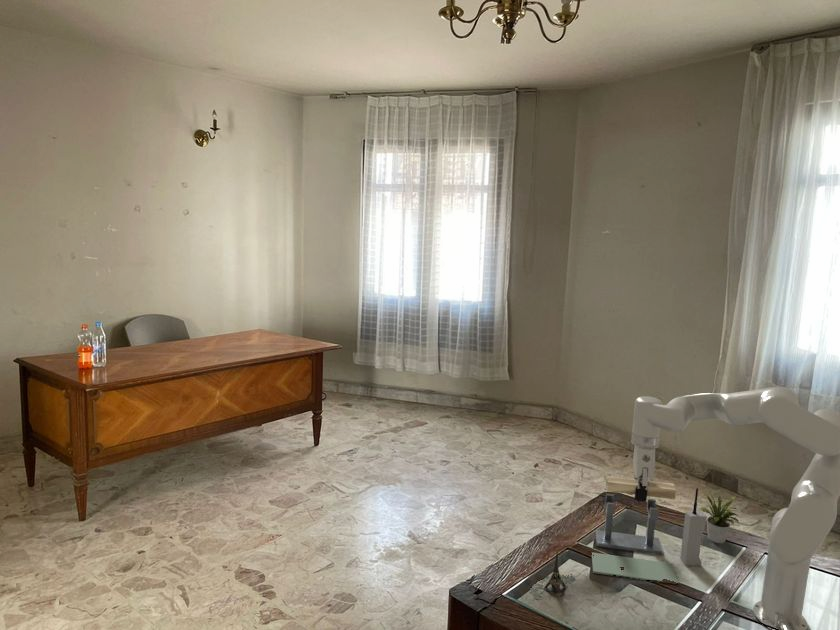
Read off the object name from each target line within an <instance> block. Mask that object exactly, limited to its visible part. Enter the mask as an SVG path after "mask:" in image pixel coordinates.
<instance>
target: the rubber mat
mask: <svg viewBox="0 0 840 630" xmlns="http://www.w3.org/2000/svg"><path fill="white" fill-rule="evenodd" d="M591 553H592V555H591V562H592V563H591V565H592V573H594V574H599V575H604V576H605V575H606V576H612V577H614V576H613V575H616V576H615V577H618V578H619V576H625V577H630V578H629V579H632V578H635V579H634V580H639V579H640V581H646V580H657V581H662V580H663V579H667V580H670V581H674V582H676V583H678V584H679V581H678V579H677V576H676V575H677V574H676V573H675V569H674V565H673V563H671V562H663V561H658V560H656V561H655V560H650V559H644V558H643V559H642V558H634V557H629V556H620V555H613V554H605V553H600V552H594V551H593V552H591ZM593 555H594V556H593ZM620 567H624V570H621V568H620ZM625 577H624V578H625Z"/></svg>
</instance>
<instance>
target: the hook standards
mask: <svg viewBox="0 0 840 630" xmlns="http://www.w3.org/2000/svg"><path fill="white" fill-rule="evenodd" d="M614 495H615V494H612V493H606V494H605V510H606V511H605V521H604V530H601V529H595V539H596V540H595V541H596V546H597V547H600V548H608V549H615V550H623V551H628V552H629V551H631V552H637V553H643V554H652V555H658V556H663V553H664V552H663V549H662V545H661V541H660V539H659V537H655V528H656V520H659V512H660V510H659V508H657V507H656V503H657V501H656V499H655V498H654V499H652V498H647V500H646V510H647V513H648V514H647V523H646V533H645V535H639V534H632V533H631V534H629V533H623V532H615V531H613V523H614V522H613V519H614V515H615V514H616V502H614V501H615V500H614V499H615V496H614Z"/></svg>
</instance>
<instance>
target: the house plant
mask: <svg viewBox="0 0 840 630" xmlns="http://www.w3.org/2000/svg"><path fill="white" fill-rule="evenodd" d="M693 494H694V495H696V492H695V493H693ZM704 495H705V498H707V499H705V500H706V502H708V501H709V502H708V503H709V504H708V505H706V506H705V507H701V508H700V509H699V511H703V513H707V514H709V516H707V520H706V529H707V538H708V540H709V541H710V542H713V543H715V544H725V542H726V540H727V537H728V533H729V530H730V527H731V524H733V525H735V522H736V523H738V524H739V523H740V521H739V520H738V519H737V517H739V518H740V519H742V517H741V516H739V514H737V513H735V512H733V510H734V509H735V508H737V507H740V505H735V506H732V507H730V506H731V505H732V504H733V502H734V500H735V499H736V498H737V495H735V496H732V497H731V498H729V499H727V501H725V502H724V503H723V504H722V501H723V497H724V492H723V493H722V494H720V493H718V498H717V503H718V505H717V503H716V502H715V499H714V497H713V495H712V494H710V493H708V492H707V493H704ZM709 495H710V496H709ZM698 496H701V497H703V498H704V496H703V495H701V494H699V493H698ZM711 498H712V499H711ZM707 500H708V501H707ZM707 506H708V507H709V509H710V510H708V509H707V508H706V507H707ZM729 507H730V508H729ZM710 511H711V512H710ZM733 516H737V517H733Z"/></svg>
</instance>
